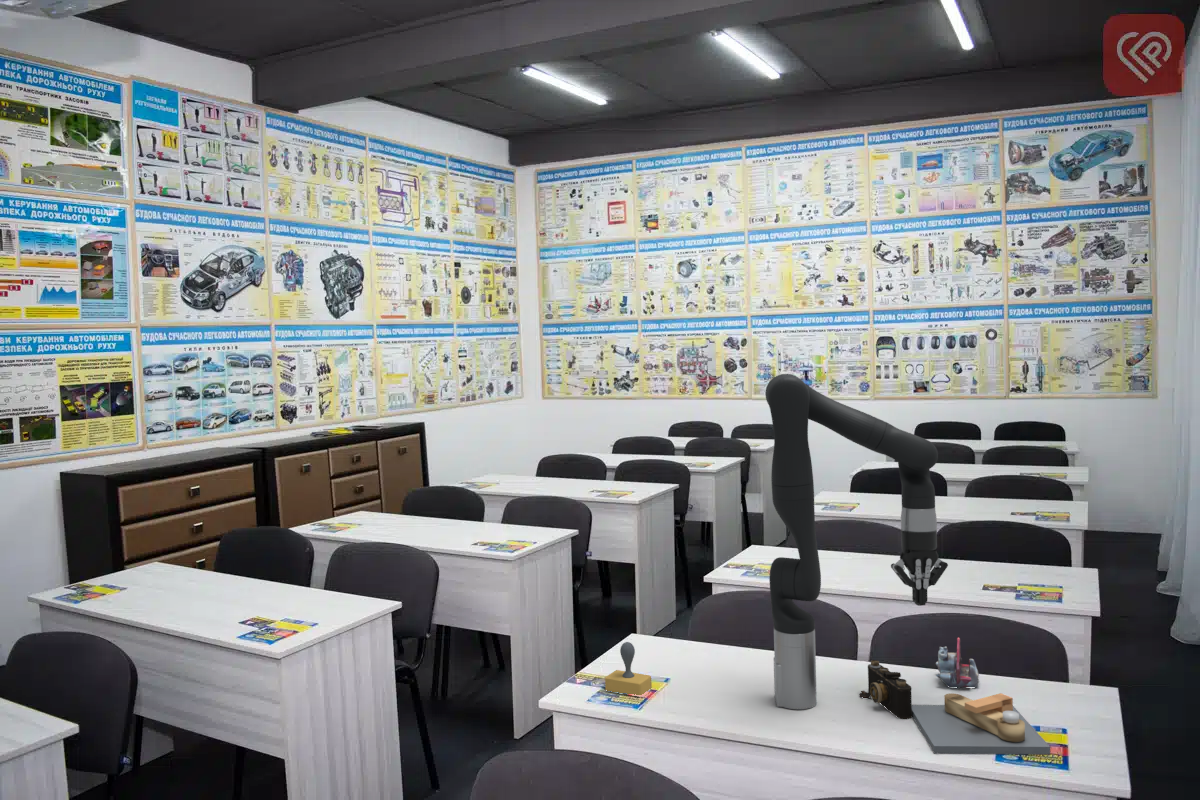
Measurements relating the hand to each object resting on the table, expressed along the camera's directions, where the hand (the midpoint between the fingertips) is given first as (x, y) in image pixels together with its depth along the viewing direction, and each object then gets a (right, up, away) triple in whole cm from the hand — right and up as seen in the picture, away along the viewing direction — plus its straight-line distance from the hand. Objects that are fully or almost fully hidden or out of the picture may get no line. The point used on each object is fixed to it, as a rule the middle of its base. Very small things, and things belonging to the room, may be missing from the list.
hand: (919, 604), depth 201 cm
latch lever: (+8, -22, -13) cm, 27 cm away
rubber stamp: (-64, -25, +17) cm, 71 cm away
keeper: (+9, -22, -14) cm, 28 cm away
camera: (-7, -24, +2) cm, 25 cm away
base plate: (+7, -24, -13) cm, 28 cm away
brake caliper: (+14, -22, +14) cm, 30 cm away
